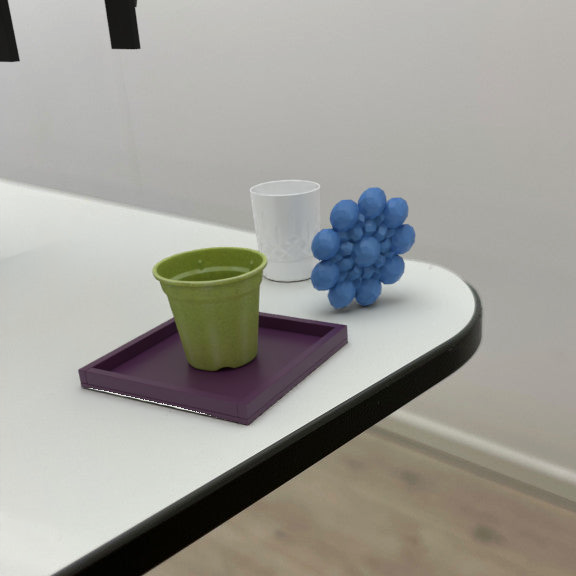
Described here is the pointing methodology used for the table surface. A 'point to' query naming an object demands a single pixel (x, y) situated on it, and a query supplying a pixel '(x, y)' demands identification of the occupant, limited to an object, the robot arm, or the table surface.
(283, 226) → the white cup
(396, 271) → the blue flower ornament
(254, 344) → the plant pot
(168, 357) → the tray
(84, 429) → the table surface
